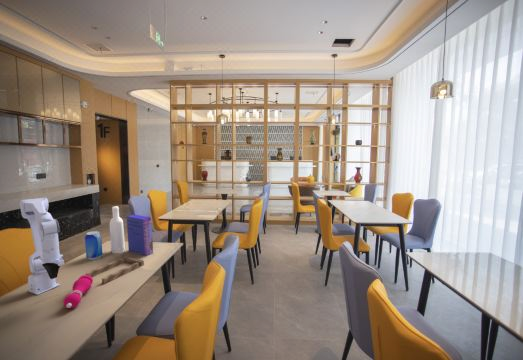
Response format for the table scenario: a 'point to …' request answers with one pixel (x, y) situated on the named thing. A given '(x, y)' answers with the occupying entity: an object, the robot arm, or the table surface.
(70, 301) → the pepper mill
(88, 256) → the beer can
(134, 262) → the u rest
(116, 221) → the bottle
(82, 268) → the table surface
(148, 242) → the cereal box
